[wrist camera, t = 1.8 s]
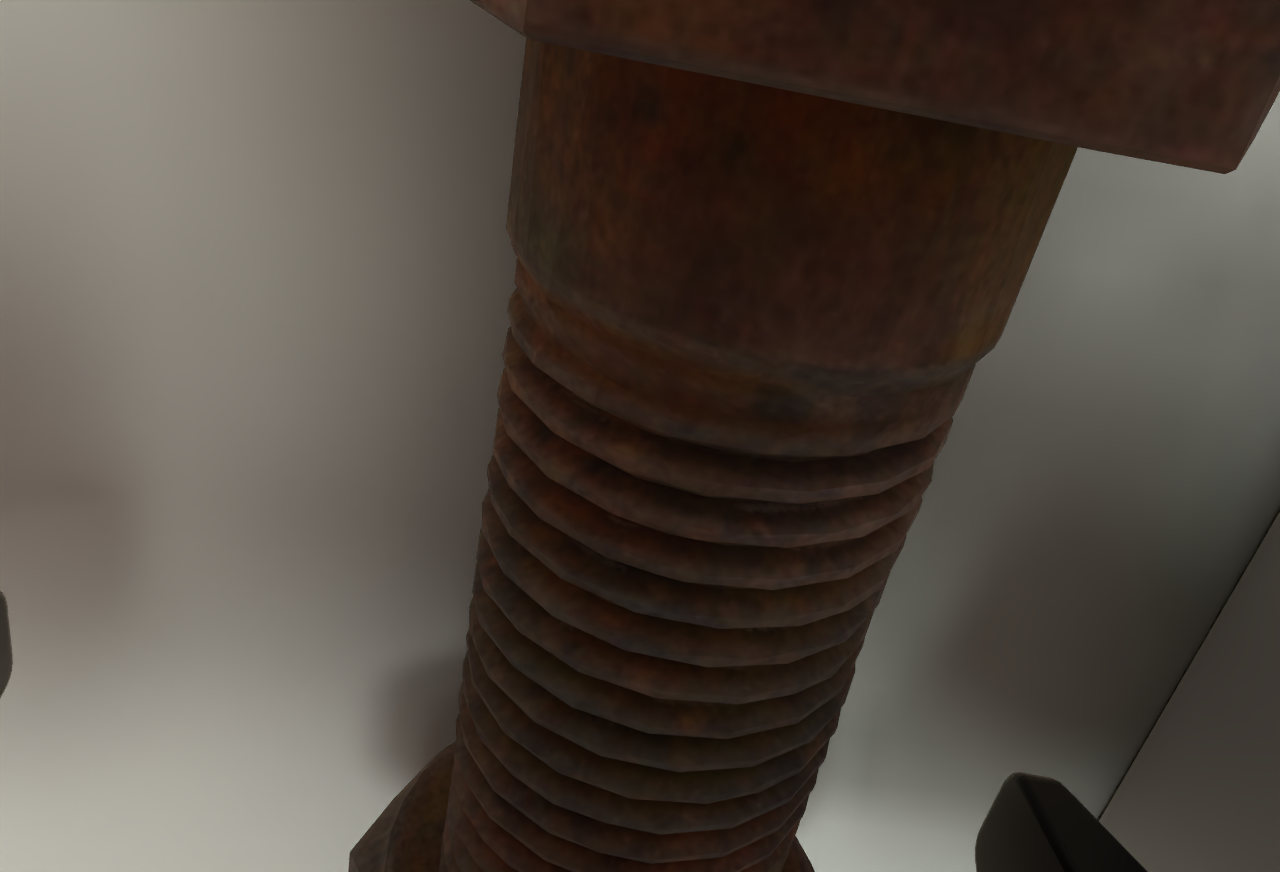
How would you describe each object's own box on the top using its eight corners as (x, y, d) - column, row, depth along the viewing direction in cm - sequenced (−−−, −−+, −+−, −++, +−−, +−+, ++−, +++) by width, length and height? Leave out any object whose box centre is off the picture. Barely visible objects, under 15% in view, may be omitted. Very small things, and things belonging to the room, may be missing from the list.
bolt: (517, 874, 16) (731, -274, 9) (809, 1081, 14) (1402, -162, 7) (198, 1223, 12) (79, -510, 4) (560, 1591, 10) (1488, -373, 2)
